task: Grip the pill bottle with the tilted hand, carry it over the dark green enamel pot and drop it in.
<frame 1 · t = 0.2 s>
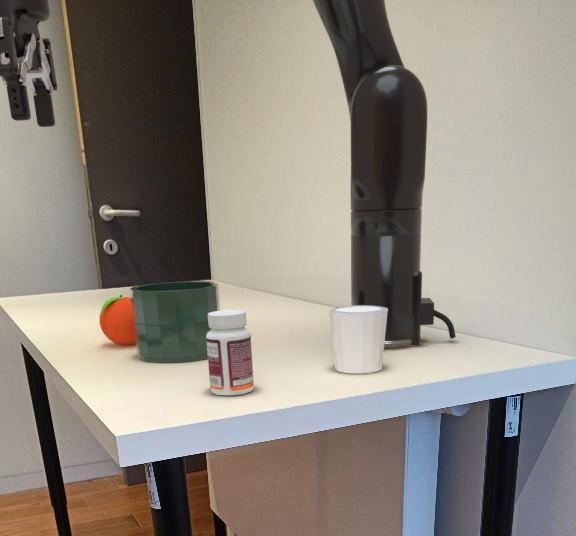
hand: (34, 123, 96), 29 cm above the table, tool pointing down, fingers open, 8 cm apart
pill bottle: (232, 392, 82), on the table
pot: (180, 354, 103), on the table
shot glass: (358, 370, 90), on the table
clementine: (124, 346, 111), on the table
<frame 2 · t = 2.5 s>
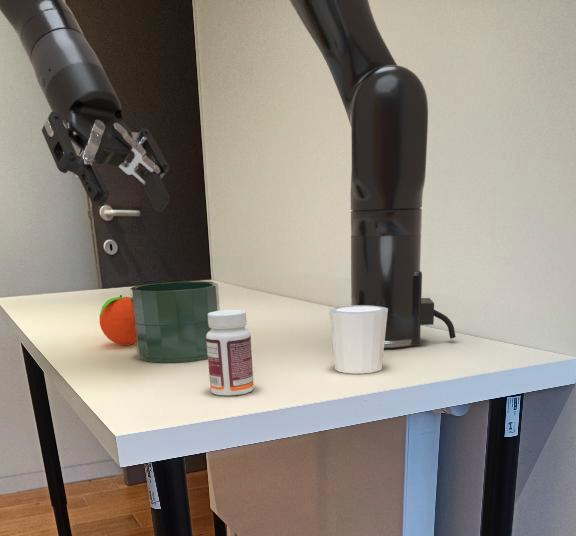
hand: (134, 204, 85), 19 cm above the table, tool tilted 35°, fingers open, 8 cm apart
nothing on the table moved.
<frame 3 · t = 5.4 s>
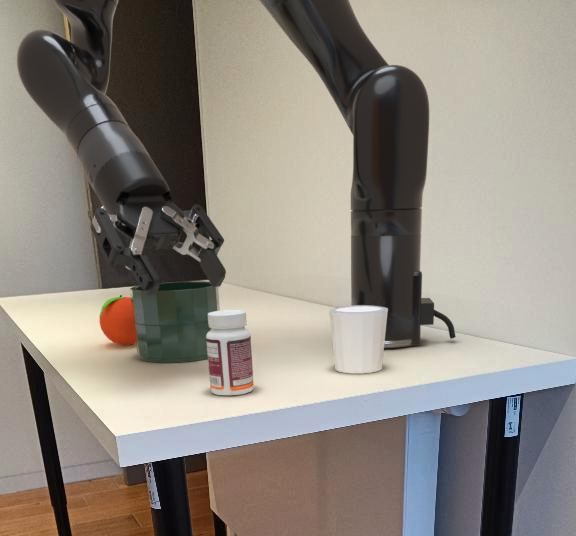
hand: (189, 285, 82), 11 cm above the table, tool tilted 45°, fingers open, 8 cm apart
nothing on the table moved.
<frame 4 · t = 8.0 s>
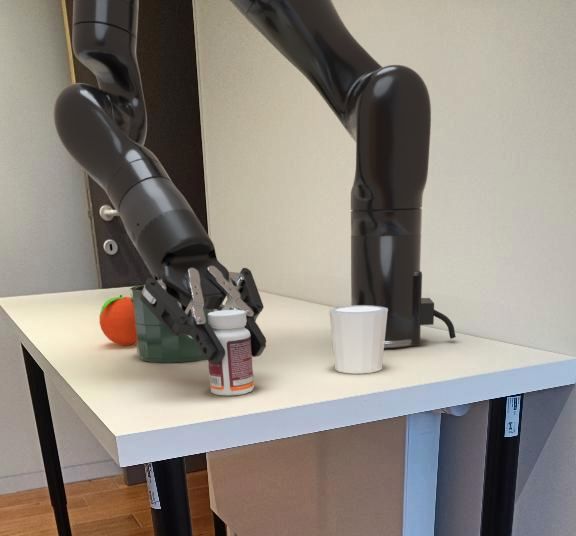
hand: (240, 355, 79), 4 cm above the table, tool tilted 45°, fingers closed on pill bottle, 4 cm apart
pill bottle: (232, 392, 82), on the table, touching gripper
everything else where it was.
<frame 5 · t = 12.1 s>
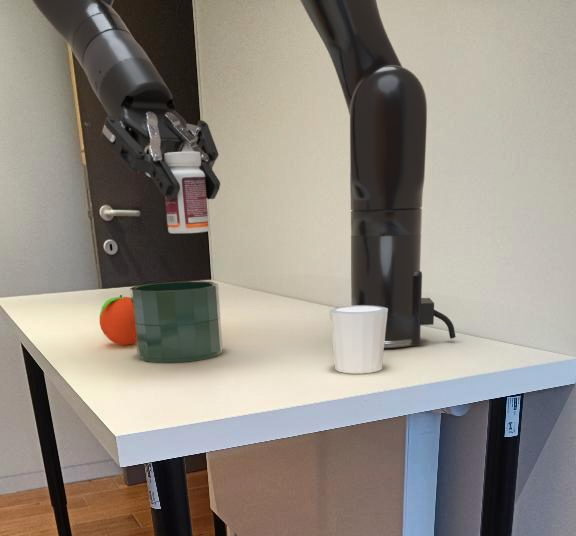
hand: (195, 193, 84), 20 cm above the table, tool tilted 45°, fingers closed on pill bottle, 4 cm apart
pill bottle: (188, 234, 87), point 16 cm above the table, touching gripper
everything else where it was.
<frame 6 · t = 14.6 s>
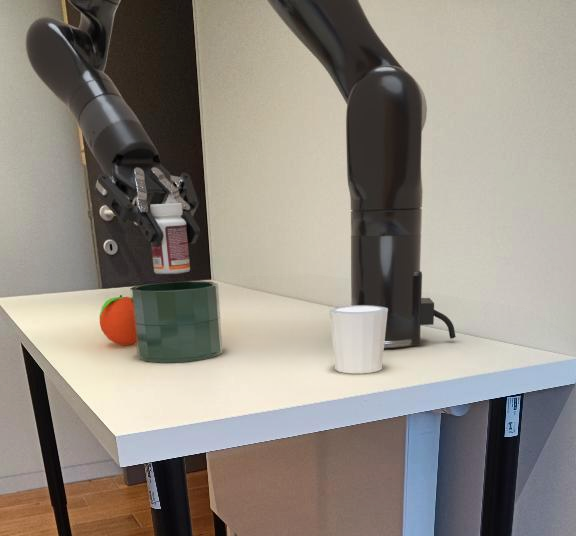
hand: (177, 239, 96), 15 cm above the table, tool tilted 45°, fingers closed on pill bottle, 4 cm apart
pill bottle: (172, 274, 99), point 10 cm above the table, touching gripper
everything else where it was.
when the fingers open (11 cm above the table, at t = 16.2 s): pill bottle drops 6 cm, resting on pot.
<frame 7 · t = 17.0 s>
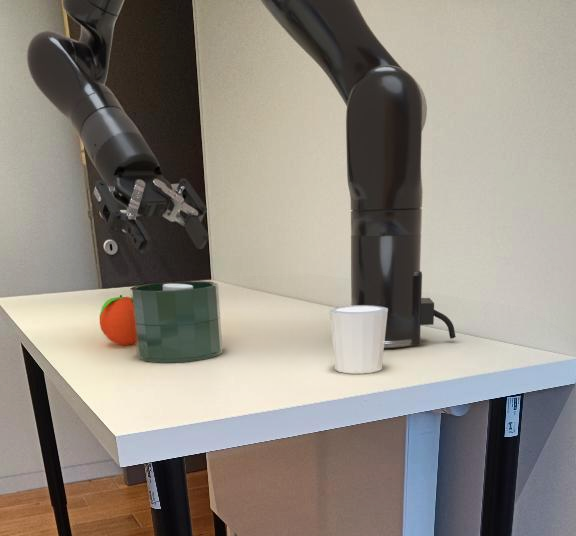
hand: (176, 246, 96), 14 cm above the table, tool tilted 45°, fingers open, 8 cm apart
pill bottle: (177, 350, 102), point 1 cm above the table, touching pot
everything else where it was.
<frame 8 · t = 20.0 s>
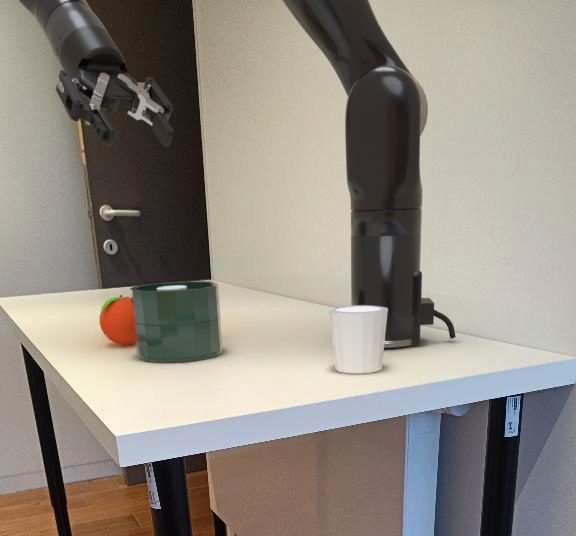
hand: (140, 140, 96), 27 cm above the table, tool tilted 45°, fingers open, 8 cm apart
nothing on the table moved.
at the end: pill bottle inside the target area in the pot (0.3 cm from its centre), point 0.3 cm above the pot's base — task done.
